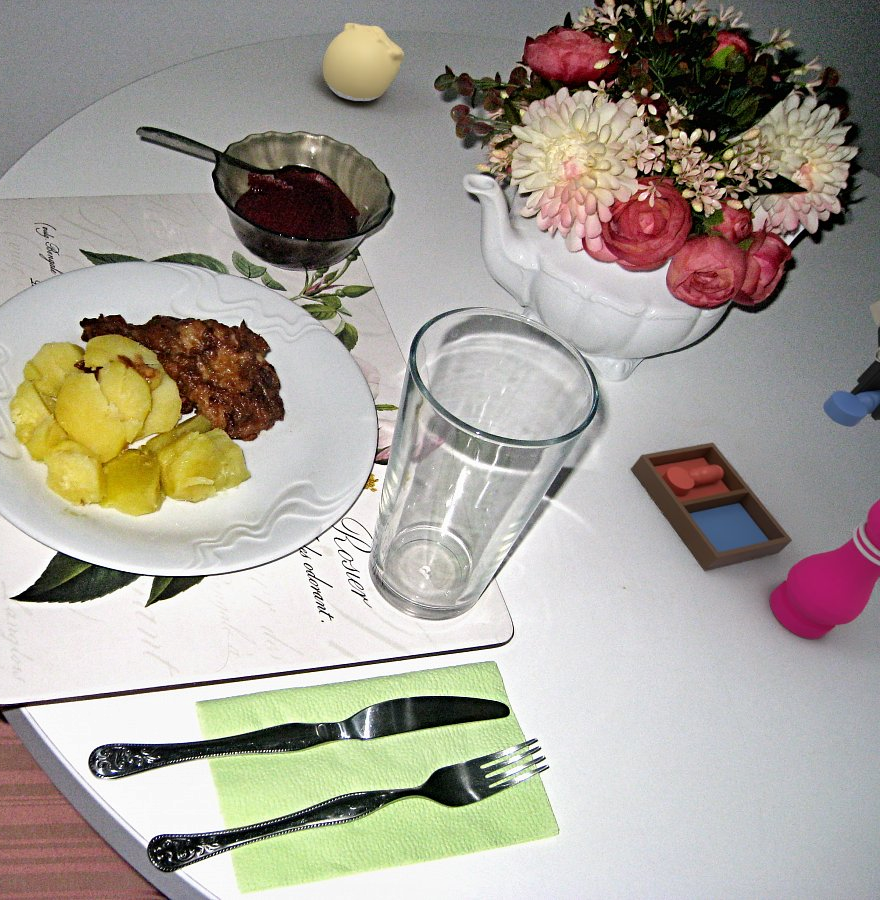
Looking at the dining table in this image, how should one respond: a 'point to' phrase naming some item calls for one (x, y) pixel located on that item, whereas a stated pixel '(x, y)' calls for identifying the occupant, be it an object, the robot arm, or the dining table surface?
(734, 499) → the red pad
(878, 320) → the robot arm
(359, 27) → the sculpture
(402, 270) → the dining table surface
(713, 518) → the blue pad
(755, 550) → the divided wooden tray
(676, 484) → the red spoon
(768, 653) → the dining table surface
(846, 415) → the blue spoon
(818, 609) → the pink bowling pin
